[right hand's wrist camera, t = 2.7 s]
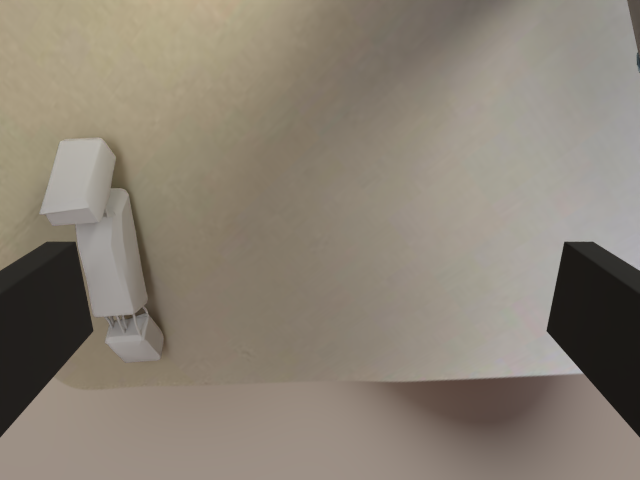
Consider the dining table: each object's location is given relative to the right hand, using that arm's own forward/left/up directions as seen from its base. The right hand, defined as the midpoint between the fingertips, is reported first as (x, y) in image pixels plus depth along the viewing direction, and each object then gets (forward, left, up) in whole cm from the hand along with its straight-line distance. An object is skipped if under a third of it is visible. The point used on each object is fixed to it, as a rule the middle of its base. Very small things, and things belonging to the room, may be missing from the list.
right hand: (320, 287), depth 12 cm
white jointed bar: (+7, -18, -26) cm, 32 cm away
